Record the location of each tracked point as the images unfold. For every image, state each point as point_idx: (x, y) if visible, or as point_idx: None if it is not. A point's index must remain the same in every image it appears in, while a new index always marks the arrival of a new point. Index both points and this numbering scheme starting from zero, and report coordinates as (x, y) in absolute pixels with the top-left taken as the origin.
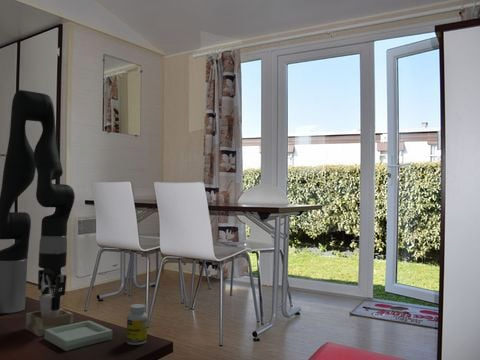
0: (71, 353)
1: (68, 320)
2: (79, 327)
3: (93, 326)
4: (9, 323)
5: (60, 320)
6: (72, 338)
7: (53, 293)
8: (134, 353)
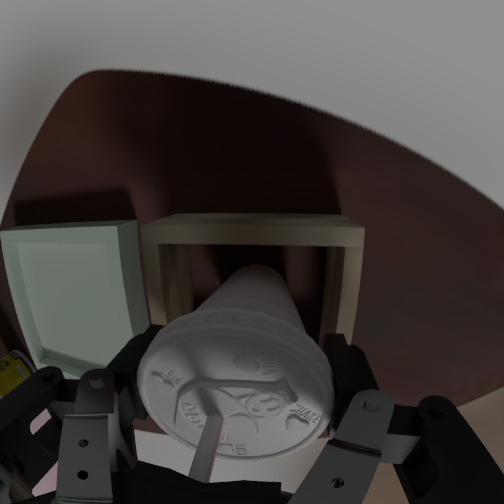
0: (6, 229)
1: None
2: None
3: None
4: (461, 200)
5: None
6: (8, 256)
7: (78, 390)
8: None
